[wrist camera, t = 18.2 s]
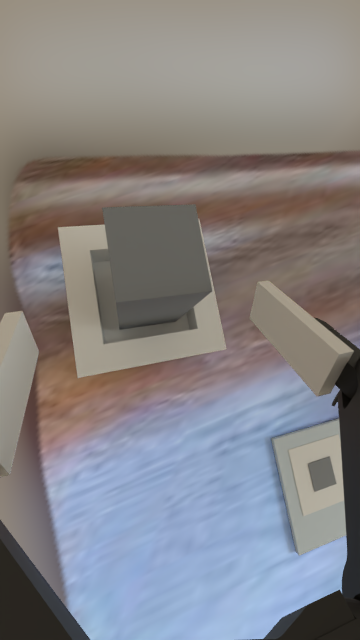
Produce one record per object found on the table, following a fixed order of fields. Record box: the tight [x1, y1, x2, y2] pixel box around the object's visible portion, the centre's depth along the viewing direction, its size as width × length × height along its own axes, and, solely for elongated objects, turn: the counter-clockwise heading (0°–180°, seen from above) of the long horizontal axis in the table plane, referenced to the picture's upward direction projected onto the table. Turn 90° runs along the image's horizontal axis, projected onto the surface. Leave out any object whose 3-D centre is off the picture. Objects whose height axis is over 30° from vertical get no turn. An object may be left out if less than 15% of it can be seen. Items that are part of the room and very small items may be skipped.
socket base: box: [58, 219, 226, 378], centre depth 27 cm, size 14×14×4 cm
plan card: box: [271, 418, 346, 555], centre depth 29 cm, size 10×12×1 cm
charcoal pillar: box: [102, 205, 212, 330], centre depth 22 cm, size 6×6×12 cm
